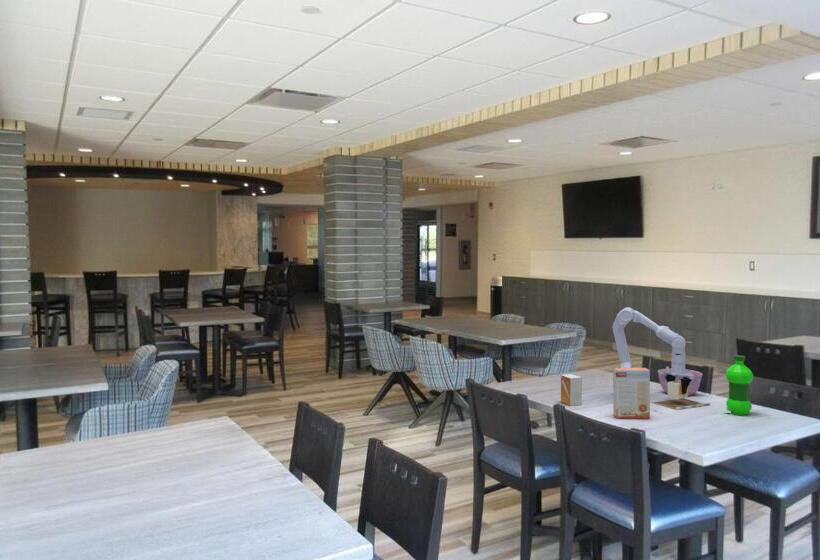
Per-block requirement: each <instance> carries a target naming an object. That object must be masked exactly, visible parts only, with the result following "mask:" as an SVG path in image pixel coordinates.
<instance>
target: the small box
mask: <svg viewBox="0 0 820 560" xmlns="http://www.w3.org/2000/svg"><path fill="white" fill-rule="evenodd" d="M582 393H583V378H582V377H581V376H579V375H575V374H573V373H569V374H561V375H560V402H561V403H563V404H565V405H568V406H569V407H575V406H582V405H583V404H582V403H583V394H582Z"/></svg>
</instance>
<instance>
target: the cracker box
mask: <svg viewBox="0 0 820 560" xmlns="http://www.w3.org/2000/svg"><path fill="white" fill-rule="evenodd" d="M612 372H613V373H612V374H613V375H612V376H613V377H612V380H613V381H612V386H613V389H612V391H613V392H612V395H613V397H612V398H613V399H612V400H613V401H612V402H613V404H612V406H613V407H612V408H613V410H612V411H613V413H612V414H613V416H614V417H615V418H616V419H627V420H629V419H634V420H635V419H636V420H637V419H640V420H641V419H642V420H644V419H645V420H649V419H651V387H650V385H651V384H650V382H651V377H650V376H651V374H650V372H651V371H650V369H649V368H647V367H633V368H621V367H613V369H612Z"/></svg>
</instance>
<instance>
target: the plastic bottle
mask: <svg viewBox="0 0 820 560" xmlns="http://www.w3.org/2000/svg"><path fill="white" fill-rule="evenodd" d="M733 360H734V362H735V363H734V364H733V365H731V366H730V367H729V368H727V369H726V371H725V377H726V380H727V381H728V397H727V400H726V401H725V402H726V403H725V405H726V407H727V409H728V411H730V413H731V414H732V415H737V416H745V415H746V414H748V413H750V412H751V410H752V407H753V405H752V402H751V400H750V384H751V383H752V382H753V379H754V374H753V372H752V370H751V369H750V368H749V367H747V365H746V364H744V362H745V361H746V356H745V355H739V354H738V355H733Z"/></svg>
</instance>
